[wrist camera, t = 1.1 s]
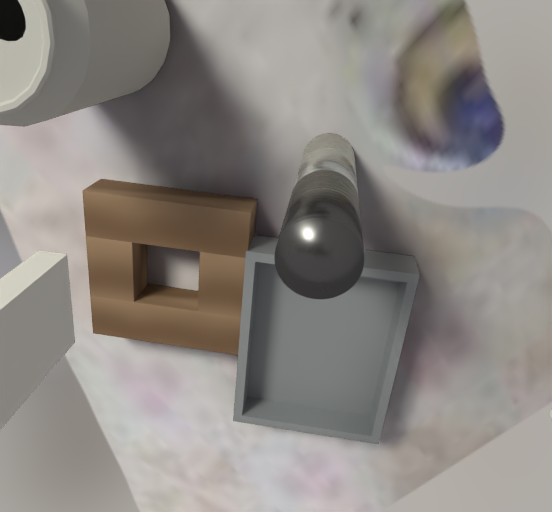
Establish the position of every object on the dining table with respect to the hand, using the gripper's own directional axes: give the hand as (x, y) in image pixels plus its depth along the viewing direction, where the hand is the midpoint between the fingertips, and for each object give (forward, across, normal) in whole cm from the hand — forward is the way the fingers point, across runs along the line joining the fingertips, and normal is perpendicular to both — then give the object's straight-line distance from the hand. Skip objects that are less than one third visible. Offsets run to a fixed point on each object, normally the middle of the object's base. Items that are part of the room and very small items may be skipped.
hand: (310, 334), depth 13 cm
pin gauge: (+18, 0, 0) cm, 18 cm away
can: (+18, -13, +6) cm, 23 cm away
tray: (+18, +1, -12) cm, 22 cm away
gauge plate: (+18, -9, -8) cm, 22 cm away
